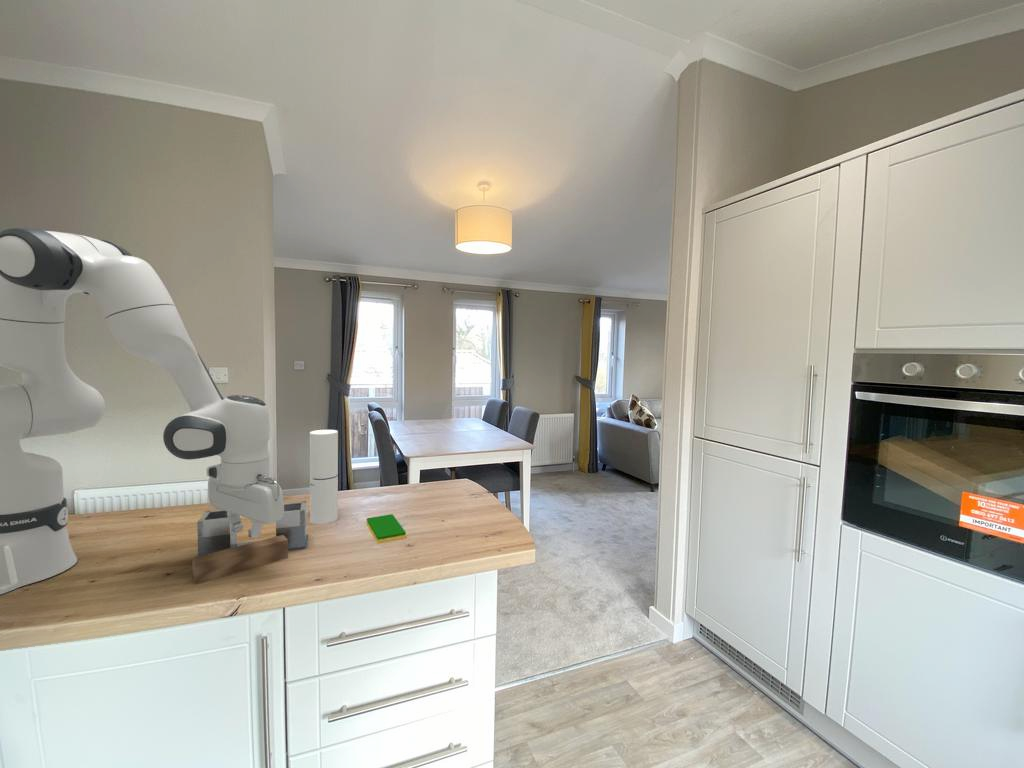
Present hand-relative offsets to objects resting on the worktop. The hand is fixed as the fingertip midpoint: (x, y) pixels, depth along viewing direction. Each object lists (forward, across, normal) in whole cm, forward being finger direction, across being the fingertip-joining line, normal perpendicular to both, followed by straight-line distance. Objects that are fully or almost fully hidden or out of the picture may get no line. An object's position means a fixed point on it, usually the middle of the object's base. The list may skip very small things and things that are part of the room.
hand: (245, 533), depth 91 cm
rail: (+8, 0, +1) cm, 8 cm away
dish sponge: (+8, -14, -28) cm, 33 cm away
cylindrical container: (+8, +6, -27) cm, 28 cm away
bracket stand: (+8, +5, -6) cm, 11 cm away
